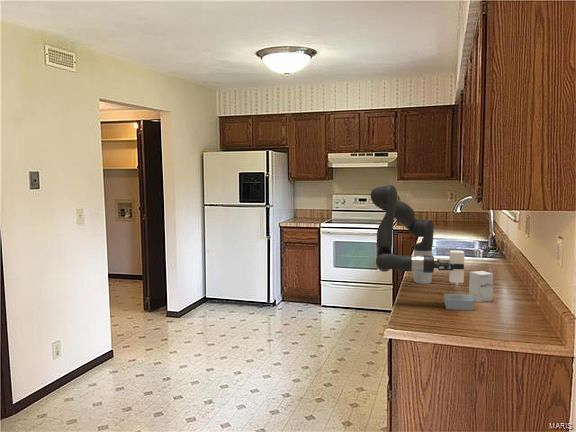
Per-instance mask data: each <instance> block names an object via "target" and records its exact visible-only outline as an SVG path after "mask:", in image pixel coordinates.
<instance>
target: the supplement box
mask: <svg viewBox="0 0 576 432" xmlns="http://www.w3.org/2000/svg"><path fill="white" fill-rule="evenodd" d="M468 279H469V283H468V285H469V286H468V287H469V288H468V295H471V297H472V299H473V300H474V302H477V303H481V302H483V303H484V302H493V289H494V287H493V286H494V285H493V284H494V273H491V272H489V271H485V270H478V271H477V270H476V271H469V278H468Z"/></svg>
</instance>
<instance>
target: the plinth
mask: <svg viewBox="0 0 576 432" xmlns="http://www.w3.org/2000/svg"><path fill="white" fill-rule="evenodd" d="M443 303H444V306H445V309H446V310H457V311H458V310H459V311H475V301H474V300H473V299H472V297H471V295H469V294H464V293H463V294H461V293H444V294H443Z"/></svg>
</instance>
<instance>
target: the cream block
mask: <svg viewBox="0 0 576 432" xmlns="http://www.w3.org/2000/svg"><path fill="white" fill-rule="evenodd" d="M465 254H466V253H465V252H464V250H454V249H453V250H452V249H451V250H449V259H448V260H449V261H450V262H449V263H454V264H464V265H465ZM449 267H450V266H449ZM448 271H449V272H448V274H449V275H448V281H449V283H454V284H455V283H457V284H458V283H459V284H464V282H465V268H464V269H454V270H452V271H451V270H448Z"/></svg>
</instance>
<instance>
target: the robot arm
mask: <svg viewBox="0 0 576 432" xmlns="http://www.w3.org/2000/svg"><path fill="white" fill-rule="evenodd" d="M370 199H371V201H372V203H373V204H374V205H375V207H377V208H379V209H381V210H383V211H385V213H384V216H383V218H382V220H381V221H380V223H379V225H378V228H377V230H376V250H377V251H376V259H375V264H376V268H377V269H378V270H379V271H380V272H384V273H387V272H388V271H390V270H398V271H400V272H409V273H411V272H412V273H413V282H414V283H415V282H416V284H419V285H420V284H422V285H426V284H427V285H429V284H432V278H433V276H432V275H433V273H434V272H435V270H434V269H438V271H440V272H441V271H449V270H451V271H452V270H454V269H464V270H465V263H464V264H454V263H449V262H450V261H449V260H450V259H443V258H442V259H440V258H437V259H436V260H435V258H434V256H433V244H434V228H435V226H434V221H432V220H431V219H421V218H420V219H419V218H415V216H416V215H415V213H416V212H415V210H414V209H413V208H412V207H411V206H410V205H409V204H408V203H406V202H404V201H401V200H398V191H397V189H396V187H395V186H394V185H393V184H390V185H389V184H388V185H387V184H386V185H384V186H376V187H375V188H373V189H372V190H371V192H370ZM395 220H396V221H398V222H399V223H400V224H401V225H402V226H404V227H405V228H406V229H407V230H408V232H409V233H410V234H411V235H412V236H414V237H418V238H419V237H420V238H422V241H420V242H417V243H415V244H414V245H413V255H399V254H393V251H392V250H393V238H394V237H393V236H394V235H393V233H394V232H393V231H394V229H393V228H394V223H395ZM449 266H450V267H449Z"/></svg>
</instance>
